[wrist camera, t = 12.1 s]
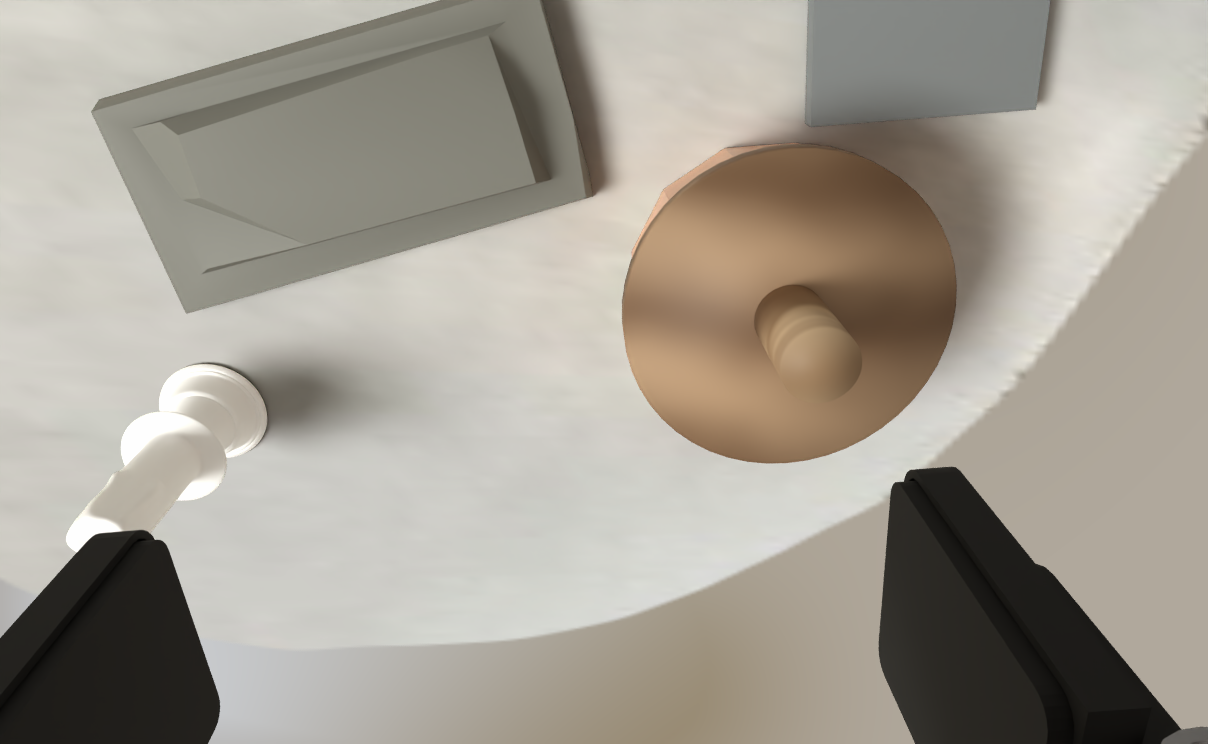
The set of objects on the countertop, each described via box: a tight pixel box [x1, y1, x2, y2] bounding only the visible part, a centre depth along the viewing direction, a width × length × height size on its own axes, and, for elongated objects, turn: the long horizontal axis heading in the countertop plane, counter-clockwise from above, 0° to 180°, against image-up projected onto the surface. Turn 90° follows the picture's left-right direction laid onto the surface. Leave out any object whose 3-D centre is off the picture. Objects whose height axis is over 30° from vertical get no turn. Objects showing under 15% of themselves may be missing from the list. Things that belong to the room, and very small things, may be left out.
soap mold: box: [91, 0, 593, 314], centre depth 37 cm, size 10×20×4 cm, turn 105°
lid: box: [622, 144, 957, 463], centre depth 34 cm, size 14×14×6 cm
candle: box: [66, 364, 267, 552], centre depth 38 cm, size 5×5×12 cm
